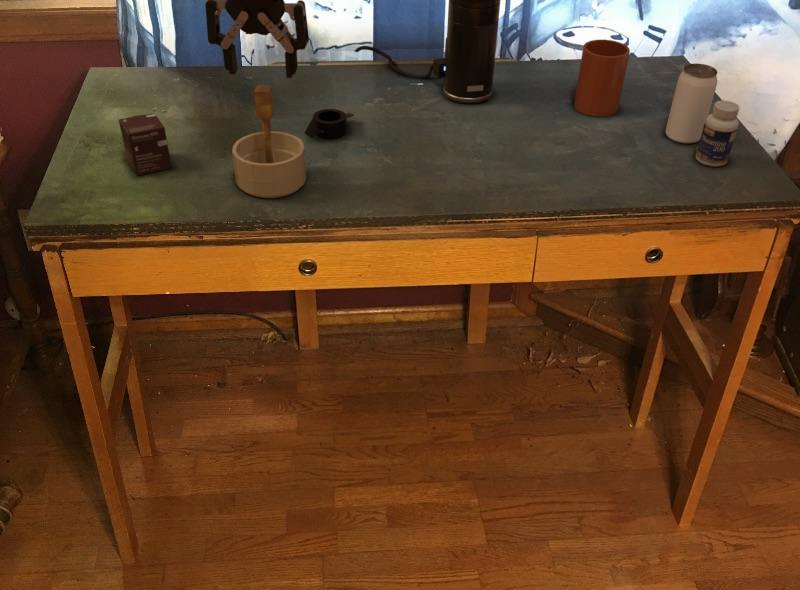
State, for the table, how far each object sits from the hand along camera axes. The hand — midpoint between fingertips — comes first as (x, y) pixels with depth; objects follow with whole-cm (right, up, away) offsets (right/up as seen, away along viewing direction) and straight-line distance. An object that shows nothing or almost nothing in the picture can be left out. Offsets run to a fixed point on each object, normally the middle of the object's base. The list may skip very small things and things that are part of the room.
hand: (261, 74), depth 127 cm
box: (-21, -9, +16) cm, 28 cm away
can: (+71, -1, +27) cm, 76 cm away
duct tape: (+8, -1, +25) cm, 27 cm away
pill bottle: (+74, -7, +21) cm, 77 cm away
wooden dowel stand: (0, -12, +12) cm, 17 cm away
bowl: (0, -13, +12) cm, 18 cm away
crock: (+57, +7, +35) cm, 67 cm away
